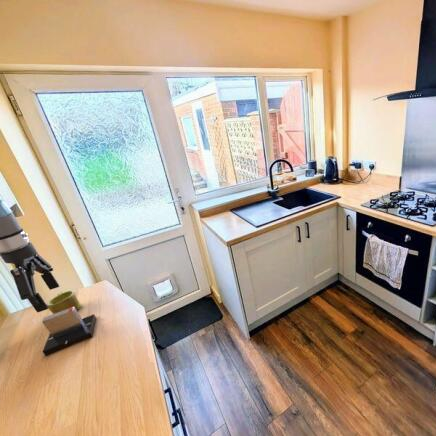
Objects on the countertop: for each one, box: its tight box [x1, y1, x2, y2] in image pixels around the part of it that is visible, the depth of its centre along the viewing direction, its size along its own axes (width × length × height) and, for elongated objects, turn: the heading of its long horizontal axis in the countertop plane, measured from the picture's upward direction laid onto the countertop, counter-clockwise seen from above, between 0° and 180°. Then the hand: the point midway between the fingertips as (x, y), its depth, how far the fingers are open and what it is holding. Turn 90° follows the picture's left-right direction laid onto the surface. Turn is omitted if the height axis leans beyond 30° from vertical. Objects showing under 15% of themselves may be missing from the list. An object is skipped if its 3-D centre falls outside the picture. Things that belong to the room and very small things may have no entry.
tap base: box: [42, 314, 98, 357], centre depth 94 cm, size 14×13×3 cm
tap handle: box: [41, 307, 85, 339], centre depth 92 cm, size 9×2×9 cm, turn 120°
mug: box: [46, 290, 82, 314], centre depth 107 cm, size 12×10×10 cm
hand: (49, 298), depth 87 cm, fingers open, 13 cm apart
